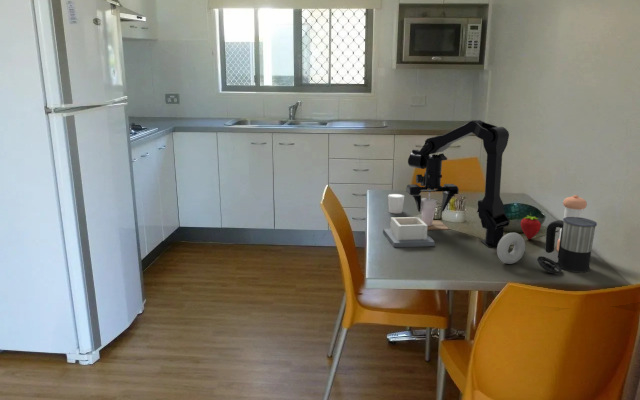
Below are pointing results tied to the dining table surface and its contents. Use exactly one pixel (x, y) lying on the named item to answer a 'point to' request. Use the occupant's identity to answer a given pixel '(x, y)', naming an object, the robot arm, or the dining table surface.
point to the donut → (505, 244)
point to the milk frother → (570, 245)
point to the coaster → (437, 226)
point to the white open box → (408, 232)
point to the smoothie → (428, 210)
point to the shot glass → (395, 203)
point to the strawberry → (530, 226)
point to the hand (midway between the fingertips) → (430, 211)
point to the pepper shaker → (572, 209)
